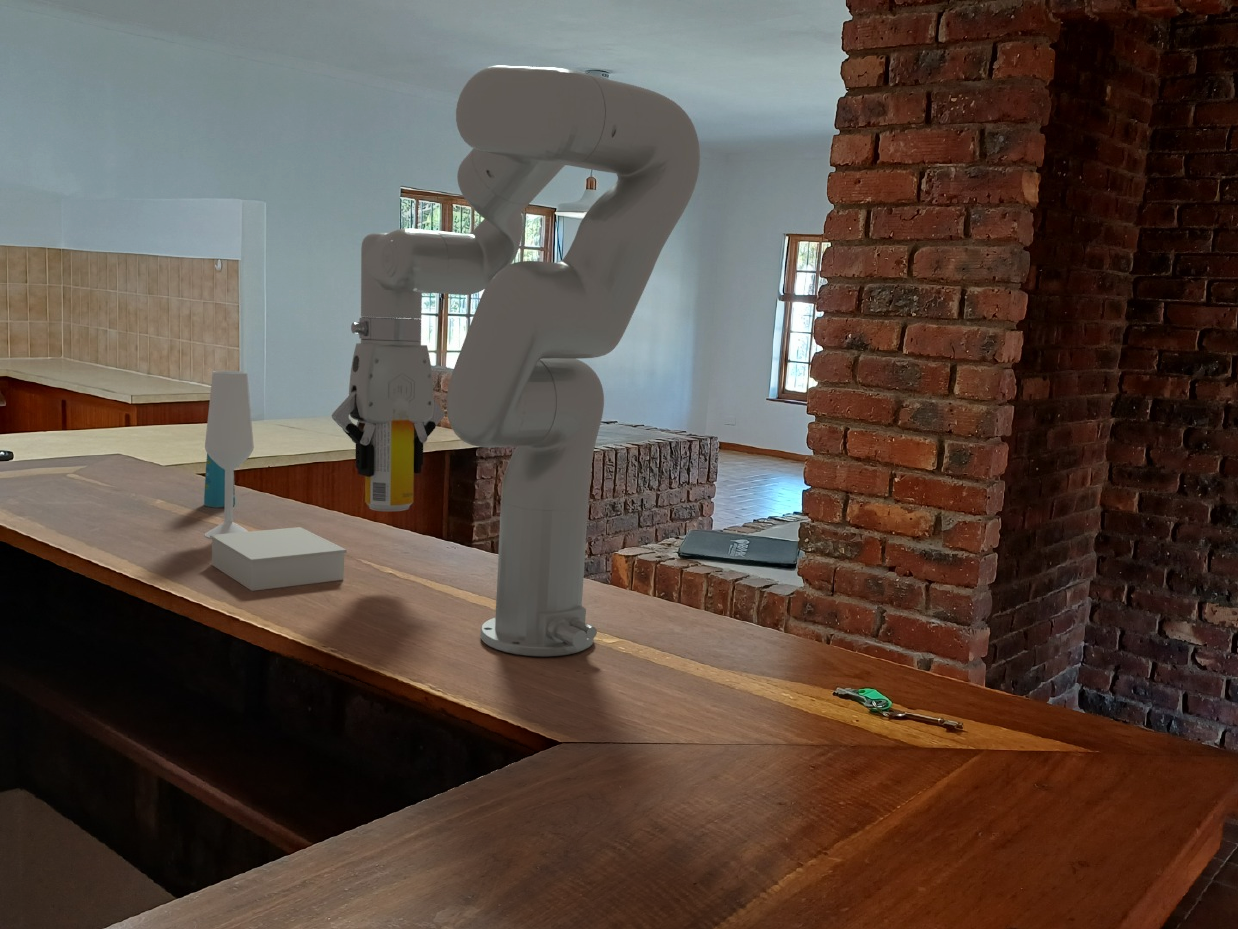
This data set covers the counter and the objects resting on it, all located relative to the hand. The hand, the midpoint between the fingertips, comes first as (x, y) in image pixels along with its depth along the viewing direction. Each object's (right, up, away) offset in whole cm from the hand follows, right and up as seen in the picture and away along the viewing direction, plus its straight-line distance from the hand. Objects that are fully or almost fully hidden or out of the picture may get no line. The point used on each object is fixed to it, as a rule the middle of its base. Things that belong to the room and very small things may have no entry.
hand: (389, 472), depth 140 cm
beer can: (0, -5, +1) cm, 5 cm away
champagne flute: (-28, -10, +21) cm, 36 cm away
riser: (-15, -13, +2) cm, 20 cm away
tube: (-37, -6, +40) cm, 55 cm away
